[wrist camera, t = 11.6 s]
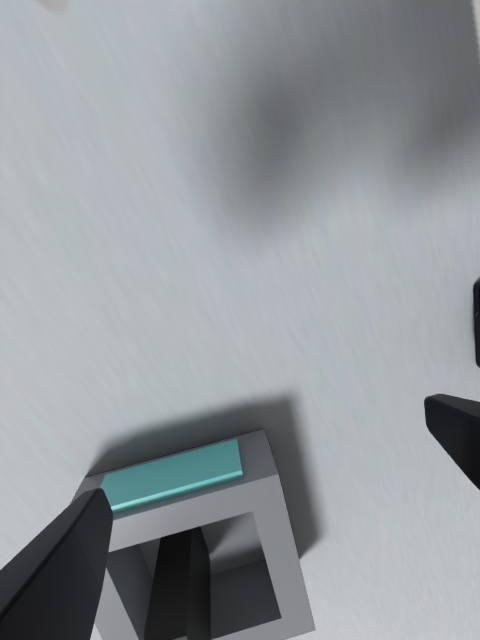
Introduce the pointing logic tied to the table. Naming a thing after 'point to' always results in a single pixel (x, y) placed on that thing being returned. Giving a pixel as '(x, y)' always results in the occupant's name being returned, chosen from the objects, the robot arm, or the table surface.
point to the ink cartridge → (180, 589)
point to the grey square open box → (219, 533)
